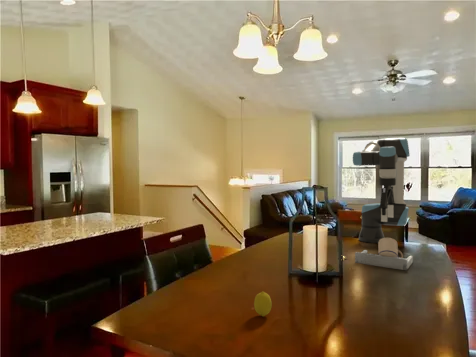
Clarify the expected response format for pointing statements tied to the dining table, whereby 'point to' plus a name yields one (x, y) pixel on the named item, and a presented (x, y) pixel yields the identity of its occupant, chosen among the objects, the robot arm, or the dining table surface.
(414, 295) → the dining table surface
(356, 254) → the aluminium dock
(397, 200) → the robot arm
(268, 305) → the lemon
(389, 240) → the teacup with lid
